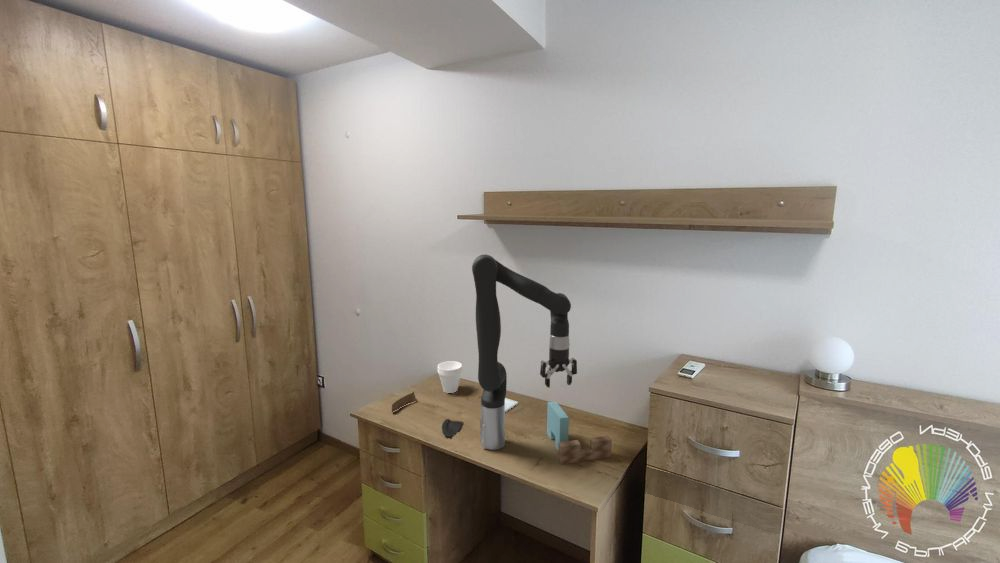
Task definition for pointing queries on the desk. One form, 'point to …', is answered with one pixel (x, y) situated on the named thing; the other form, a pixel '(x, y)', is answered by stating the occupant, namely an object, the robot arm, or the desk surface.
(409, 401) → the brown curved strip
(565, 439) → the teal notched plate
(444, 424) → the curved wedge
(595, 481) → the desk surface
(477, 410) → the desk surface
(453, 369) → the cup
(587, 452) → the walnut slotted board
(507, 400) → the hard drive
